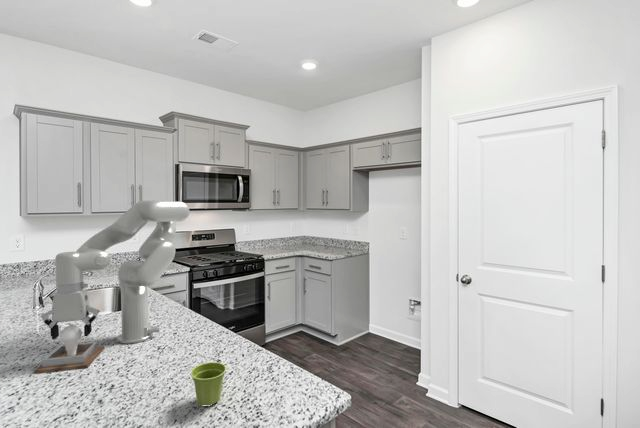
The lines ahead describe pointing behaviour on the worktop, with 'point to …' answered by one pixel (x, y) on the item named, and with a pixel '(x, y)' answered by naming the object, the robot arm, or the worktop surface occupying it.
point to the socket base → (70, 367)
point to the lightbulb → (71, 339)
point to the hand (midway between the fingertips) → (71, 336)
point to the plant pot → (208, 382)
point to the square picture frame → (70, 360)
